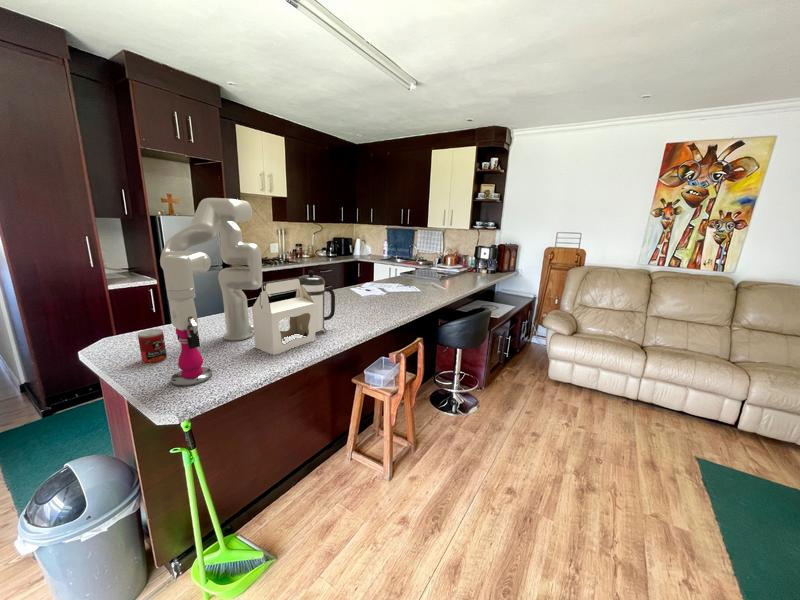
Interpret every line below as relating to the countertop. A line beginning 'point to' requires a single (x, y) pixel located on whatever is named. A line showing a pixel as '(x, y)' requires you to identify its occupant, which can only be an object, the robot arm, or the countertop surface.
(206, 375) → the grey metal disc
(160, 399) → the countertop surface
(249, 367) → the countertop surface
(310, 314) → the gable box
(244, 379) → the countertop surface
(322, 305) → the coffee press
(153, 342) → the canned food
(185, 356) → the pepper mill
